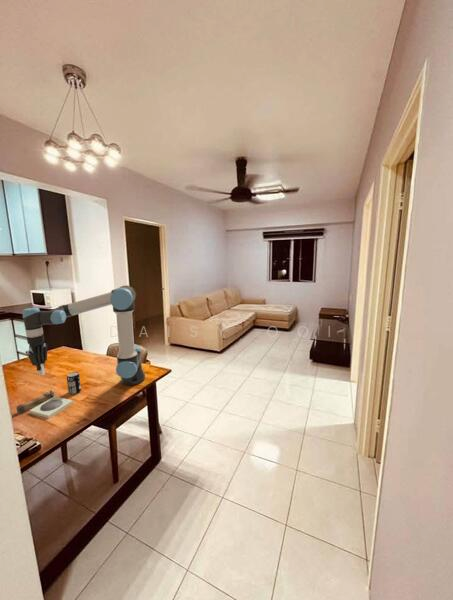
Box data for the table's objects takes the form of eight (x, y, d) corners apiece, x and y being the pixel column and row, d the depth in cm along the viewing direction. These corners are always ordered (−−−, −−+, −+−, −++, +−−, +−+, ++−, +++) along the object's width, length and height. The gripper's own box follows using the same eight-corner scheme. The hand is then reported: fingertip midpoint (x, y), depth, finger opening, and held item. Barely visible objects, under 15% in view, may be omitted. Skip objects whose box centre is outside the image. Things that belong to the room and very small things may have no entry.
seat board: (73, 403, 141) (72, 400, 141) (48, 418, 128) (48, 415, 128) (55, 398, 145) (54, 395, 145) (29, 413, 132) (29, 409, 132)
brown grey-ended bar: (48, 398, 146) (47, 392, 145) (51, 399, 144) (50, 393, 143) (17, 412, 133) (16, 405, 132) (20, 414, 131) (18, 407, 130)
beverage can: (78, 388, 157) (76, 370, 155) (83, 391, 153) (80, 373, 151) (67, 392, 152) (64, 374, 150) (71, 396, 148) (68, 377, 146)
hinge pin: (56, 397, 147) (55, 390, 146) (52, 399, 144) (51, 392, 144) (53, 396, 148) (52, 389, 147) (48, 398, 145) (47, 391, 144)
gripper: (38, 331, 145) (44, 369, 149) (18, 339, 132) (25, 380, 136) (50, 331, 144) (56, 369, 148) (31, 339, 131) (38, 380, 136)
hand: (41, 374), depth 142 cm, fingers closed
